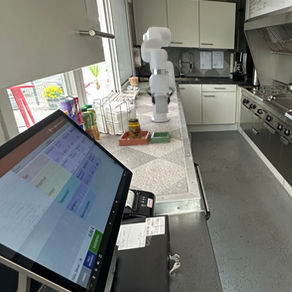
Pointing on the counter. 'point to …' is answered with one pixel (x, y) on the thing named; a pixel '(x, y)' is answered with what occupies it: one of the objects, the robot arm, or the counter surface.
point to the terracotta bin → (126, 141)
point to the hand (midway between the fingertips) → (161, 103)
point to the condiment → (134, 129)
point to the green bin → (160, 137)
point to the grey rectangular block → (161, 104)
